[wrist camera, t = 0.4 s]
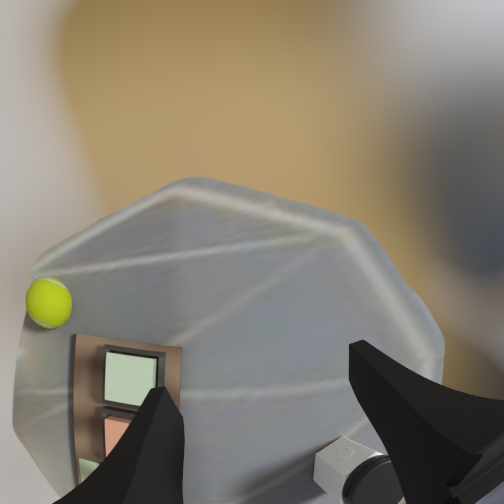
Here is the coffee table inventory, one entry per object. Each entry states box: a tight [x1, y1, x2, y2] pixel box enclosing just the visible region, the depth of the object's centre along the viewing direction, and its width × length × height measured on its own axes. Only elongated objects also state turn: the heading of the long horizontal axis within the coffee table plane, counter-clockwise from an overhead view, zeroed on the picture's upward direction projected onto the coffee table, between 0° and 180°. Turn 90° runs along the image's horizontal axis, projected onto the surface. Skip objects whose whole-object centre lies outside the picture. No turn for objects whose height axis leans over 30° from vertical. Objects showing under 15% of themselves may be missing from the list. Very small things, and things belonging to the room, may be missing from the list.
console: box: [73, 333, 182, 484], centre depth 28 cm, size 25×14×3 cm, turn 178°
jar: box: [313, 436, 404, 504], centre depth 27 cm, size 9×8×12 cm
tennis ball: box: [26, 277, 72, 329], centre depth 31 cm, size 7×7×7 cm
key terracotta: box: [105, 416, 132, 457], centre depth 26 cm, size 6×6×2 cm
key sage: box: [105, 352, 157, 406], centre depth 29 cm, size 6×6×2 cm
